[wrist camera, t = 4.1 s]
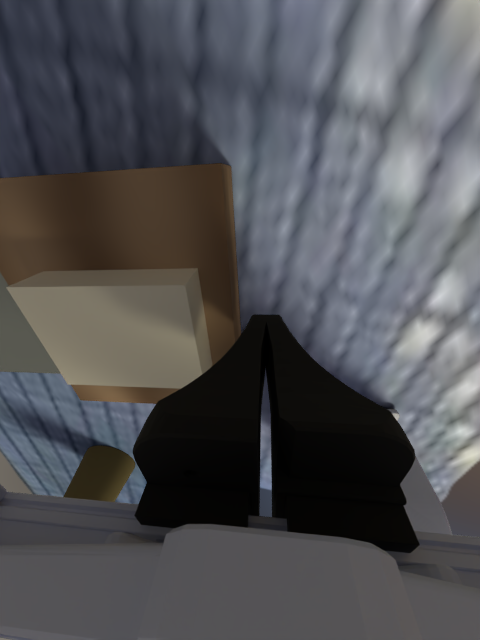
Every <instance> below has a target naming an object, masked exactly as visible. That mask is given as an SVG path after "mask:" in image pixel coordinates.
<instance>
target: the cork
mask: <svg viewBox="0 0 480 640" xmlns="http://www.w3.org/2000/svg"><path fill="white" fill-rule="evenodd" d="M134 468H135V462H134V460H133V459H132V458H131V457H130V456H129V455H128V454H126V453H124V452H123V451H120V450H118V449H116V448H112V447H108V446H92V447H90V448H88V450H87V451H86V453H85V455H84V457H83V459H82V461H81V463H80V465H79V467H78V469H77V471H76V473H75V475H74V477H73V479H72V481H71V483H70V485H69V487H68V489H67V491H66V493H65V495H64V497H66V498H76V499H87V500H97V501H107V502H115V500H116V498H117V497H118V495H119V493H120V491H121V490H122V488H123V486H124V485H125V483H126V481H127V480H128V478H129V476H130V474H131V473H132V471H133V469H134Z"/></svg>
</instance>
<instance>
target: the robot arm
mask: <svg viewBox="0 0 480 640" xmlns="http://www.w3.org/2000/svg"><path fill="white" fill-rule="evenodd" d="M265 368H266V373H267V382H268V391H269V400H270V411H271V460H272V517H263V516H259V503H260V432H261V404H262V395H263V386H264V377H265ZM399 416H400V415H399V413H398V412H397V410H394V409H385V408H384V407H382V406H380V405H378V404H376V403H375V402H373V401H371V400H369V399H367V398H366V397H364V396H362V395H360V394H359V393H357V392H356V391H354V390H353V389H351V388H350V387H348V386H346V385H345V384H344V383H342V382H341V381H339V380H338V379H336V378H335V377H334V376H333V375H331V374H330V373H329V372H327V371H326V370H325V369H324V368H322V367H321V366H320V365H319V364H318V363H317V362H316V361H315V360H314V359H313V358H312V357H311V356H310V355H309V354H308V353H307V352H306V351H305V350H304V349H303V348H302V347H301V345H300V344H299V343H298V342H297V340H296V339H295V338H294V336H293V335H292V334H291V332H290V331H289V330H288V328H287V326H286V325H285V323H284V321H283V320H282V318H281V316H280V315H253V316H251V319H250V321H249V323H248V324H247V326H246V328H245V329H244V331H243V332H242V334H241V335H240V337H239V338H238V339H237V341H236V342H235V343H234V344H233V346H232V347H231V348H230V349H229V350H228V351H227V353H226V354H225V355H224V356H223V357H222V358H221V359H220V360H219V361H218V362H216V363H215V364H214V365H213V366H212V367H211V368H210V369H208V370H207V371H206V372H205V373H203V374H202V375H201V376H199V377H198V378H197V379H195V380H194V381H192V382H191V383H189V384H188V385H186V386H184V387H183V388H181V389H179V390H178V391H176V392H174V393H172V394H170V395H169V396H167V397H165V398H163V399H161V400H159V401H158V402H157V404H156V405H155V407H154V409H153V410H152V412H151V413H150V415H149V417H148V418H147V420H146V422H145V424H144V426H143V428H142V430H141V432H140V434H139V436H138V438H137V440H136V443H135V445H134V448H133V455H134V458H135V461H136V463H137V465H138V467H139V468H140V470H141V472H142V474H143V476H144V477H145V479H146V481H147V484H146V487H145V489H144V492H143V494H142V497H141V500H140V502H139V504H128V503H118V502H107V501H97V500H87V499H76V498H66V497H56V496H45V495H35V494H23V493H13V492H6V489H5V488H4V487H3V486H2V485H0V637H1V638H6V639H12V640H480V537H470V536H460V535H452V532H451V528H450V525H449V522H448V519H447V517H446V514H445V512H444V509H443V507H442V505H441V503H440V501H439V499H438V497H437V495H436V493H435V491H434V489H433V488H432V486H431V484H430V482H429V480H428V478H427V476H426V475H425V473H424V471H423V469H422V467H421V465H420V463H419V462H418V460H417V458H416V456H415V452H414V449H413V447H412V445H411V443H410V441H409V440H408V438H407V436H406V434H405V432H404V431H403V429H402V427H401V426H400V424H399V423H398V422H397V420H398V418H399Z"/></svg>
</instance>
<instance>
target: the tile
mask: <svg viewBox="0 0 480 640" xmlns="http://www.w3.org/2000/svg"><path fill="white" fill-rule="evenodd" d="M6 288H7V290H8V291H9V293H10V294H11V296H12V297H13V299H14V301H15V302H16V304H17V305H18V307H19V308H20V310H21V312H22V313H23V315H24V316H25V318H26V319H27V321H28V322H29V324H30V326H31V327H32V329H33V330H34V332H35V333H36V335H37V337H38V338H39V340H40V341H41V343H42V344H43V346H44V348H45V349H46V351H47V352H48V354H49V355H50V357H51V359H52V360H53V362H54V363H55V365H56V366H57V368H58V370H59V371H60V373H61V374H62V376H63V377H64V379H65V380H66V382H67V384H72V385H98V386H124V387H151V388H177V389H181V388H183V387H184V386H186V385H188V384H189V383H191V382H192V381H194V380H195V379H197V378H198V377H199V376H201V375H202V374H203V373H205V372H206V371H207V370H208V369H210V368H211V366H212V359H211V352H210V346H209V339H208V333H207V326H206V320H205V313H204V307H203V300H202V294H201V287H200V281H199V274H198V268H184V269H132V270H80V271H43V272H41V273H38V274H36V275H34V276H31V277H29V278H27V279H24V280H22V281H20V282H17V283H15V284H13V285H10V286H8V287H6Z"/></svg>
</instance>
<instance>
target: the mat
mask: <svg viewBox="0 0 480 640" xmlns="http://www.w3.org/2000/svg"><path fill="white" fill-rule="evenodd" d="M8 286H9V285H8V284H7V282H6V281H5V279H4V277H3V276H2V274H1V273H0V372H31V373H60V371H59V370H58V368H57V366H56V365H55V363H54V362H53V360H52V359H51V357H50V355H49V354H48V352H47V351H46V349H45V348H44V346H43V344H42V343H41V341H40V340H39V338H38V337H37V335H36V333H35V332H34V330H33V329H32V327H31V326H30V324H29V322H28V321H27V319H26V318H25V316H24V315H23V313H22V312H21V310H20V308H19V307H18V305H17V304H16V302H15V301H14V299H13V297H12V296H11V294H10V293H9V291H8V290H7V288H6V287H8Z"/></svg>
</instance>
